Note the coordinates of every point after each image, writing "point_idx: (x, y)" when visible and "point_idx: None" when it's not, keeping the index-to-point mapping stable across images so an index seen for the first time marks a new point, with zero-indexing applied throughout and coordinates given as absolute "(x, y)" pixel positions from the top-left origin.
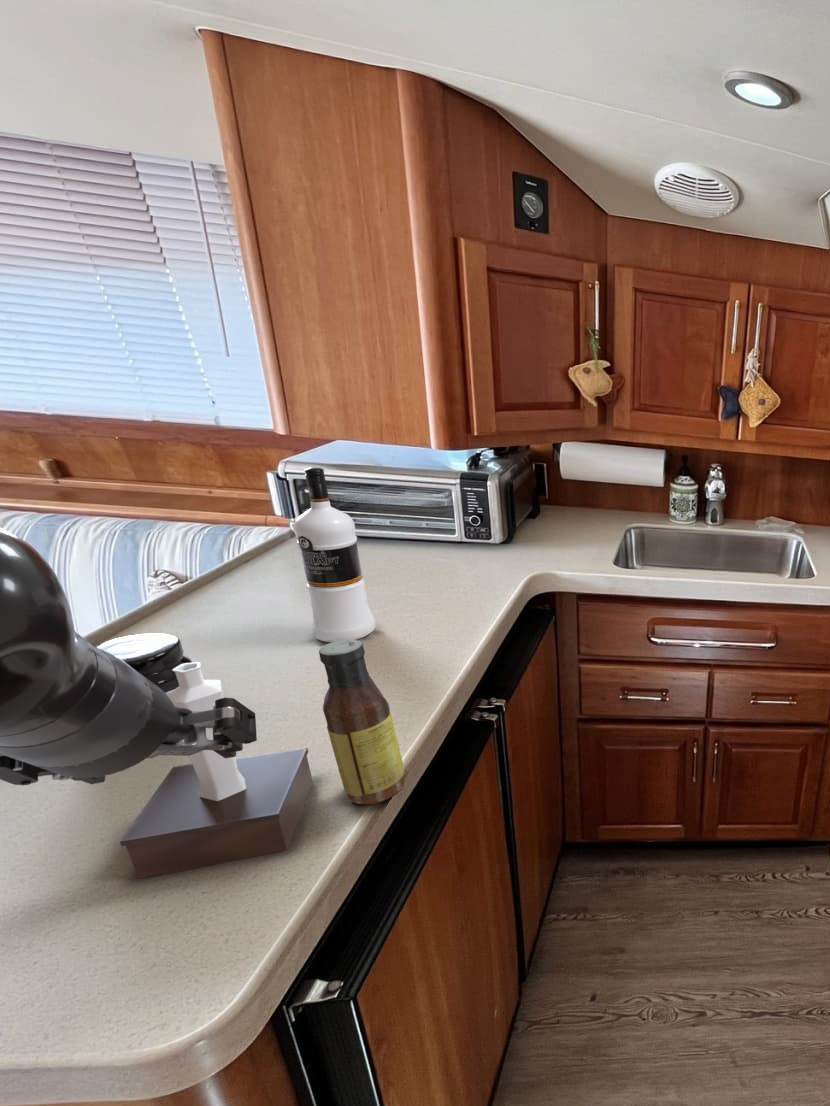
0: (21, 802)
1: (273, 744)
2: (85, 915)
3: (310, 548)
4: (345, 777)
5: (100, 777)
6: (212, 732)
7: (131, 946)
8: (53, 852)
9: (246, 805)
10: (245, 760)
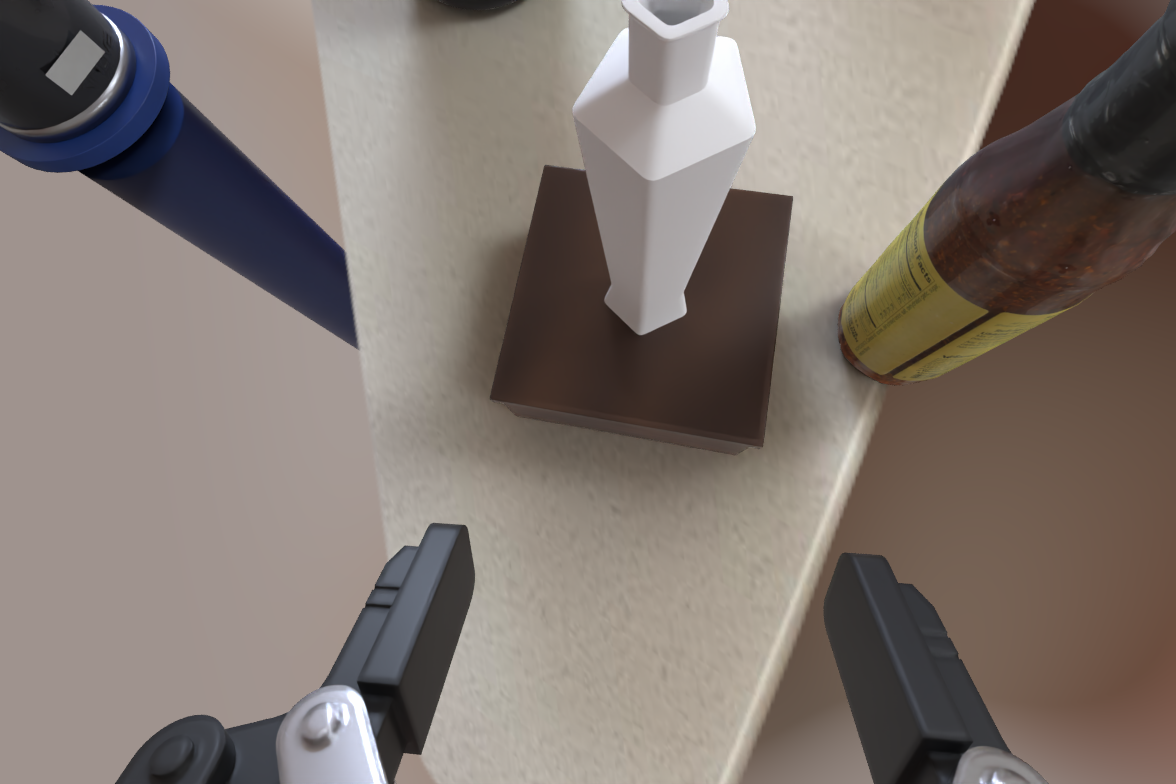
0: (336, 112)
1: None
2: (457, 473)
3: None
4: (877, 341)
5: (464, 604)
6: (679, 239)
7: (528, 597)
8: (394, 274)
9: (695, 379)
10: None
